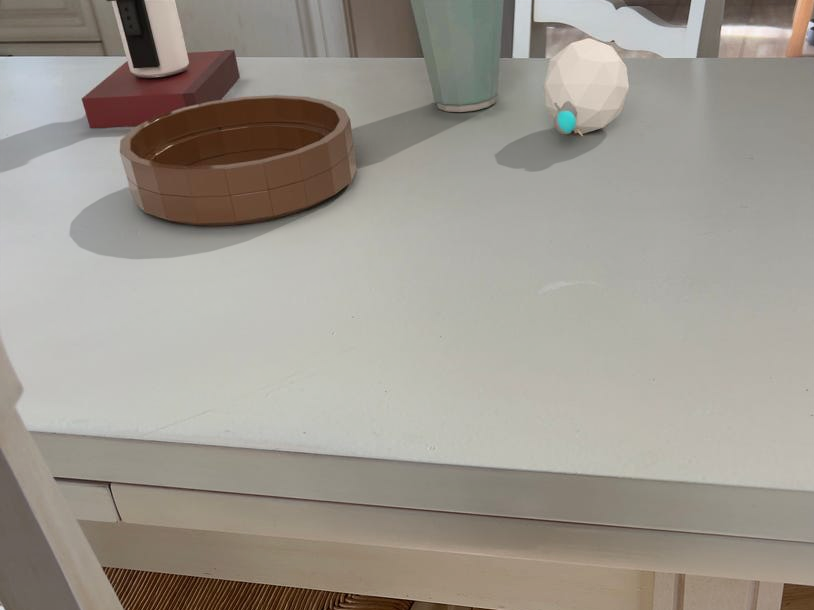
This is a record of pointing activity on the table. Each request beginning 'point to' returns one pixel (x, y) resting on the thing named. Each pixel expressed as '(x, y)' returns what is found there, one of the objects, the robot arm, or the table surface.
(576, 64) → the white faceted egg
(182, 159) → the bowl
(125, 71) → the book
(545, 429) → the table surface
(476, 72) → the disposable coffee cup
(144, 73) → the can
